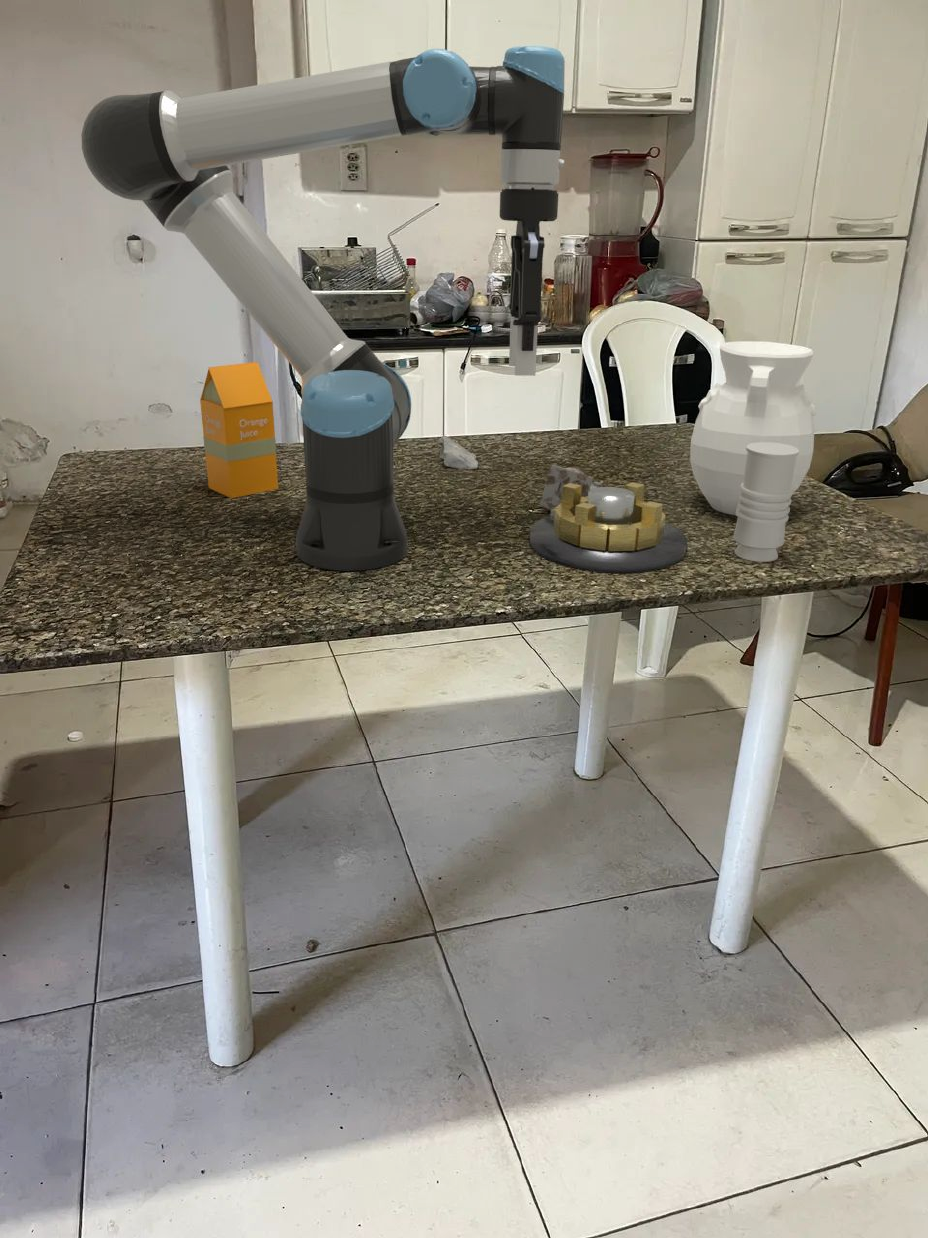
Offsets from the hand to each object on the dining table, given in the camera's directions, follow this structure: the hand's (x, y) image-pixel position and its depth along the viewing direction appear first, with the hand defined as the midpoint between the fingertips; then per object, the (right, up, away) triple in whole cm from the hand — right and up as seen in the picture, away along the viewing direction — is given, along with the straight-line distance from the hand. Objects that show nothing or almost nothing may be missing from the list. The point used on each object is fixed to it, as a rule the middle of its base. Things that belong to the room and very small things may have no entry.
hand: (521, 369), depth 131 cm
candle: (+33, -26, +1) cm, 42 cm away
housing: (+12, -24, +4) cm, 27 cm away
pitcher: (+37, -17, +21) cm, 45 cm away
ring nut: (+12, -22, +3) cm, 26 cm away
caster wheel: (+11, -17, +19) cm, 28 cm away
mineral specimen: (-10, -6, +43) cm, 44 cm away
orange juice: (-44, -13, +25) cm, 53 cm away
